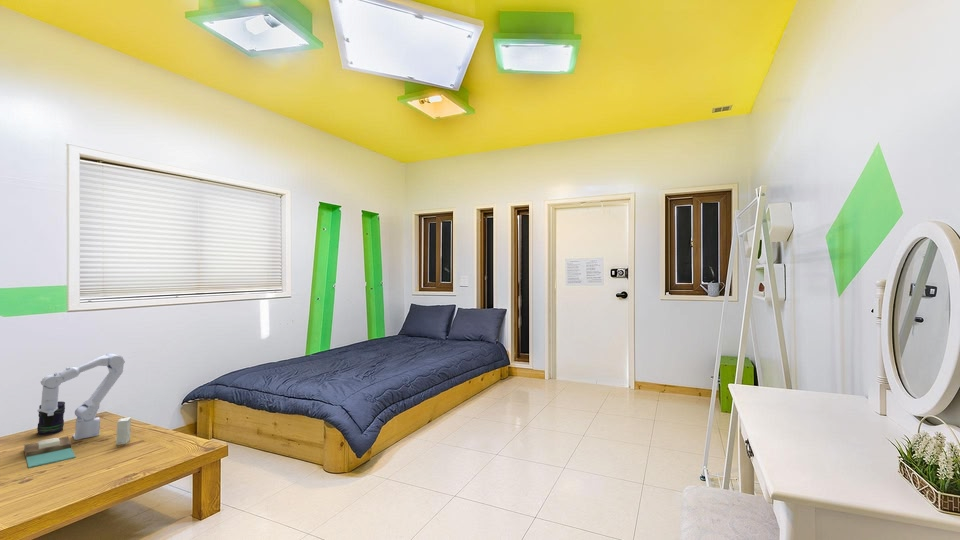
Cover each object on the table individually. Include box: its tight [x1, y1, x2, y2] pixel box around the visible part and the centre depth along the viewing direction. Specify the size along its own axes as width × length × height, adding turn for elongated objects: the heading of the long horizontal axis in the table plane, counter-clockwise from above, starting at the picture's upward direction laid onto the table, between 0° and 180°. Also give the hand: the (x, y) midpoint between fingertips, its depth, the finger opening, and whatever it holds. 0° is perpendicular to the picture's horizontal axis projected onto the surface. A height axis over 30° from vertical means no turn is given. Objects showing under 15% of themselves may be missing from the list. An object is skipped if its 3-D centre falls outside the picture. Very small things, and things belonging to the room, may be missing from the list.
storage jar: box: [36, 401, 66, 436], centre depth 219 cm, size 10×10×15 cm
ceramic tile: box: [37, 437, 60, 449], centre depth 199 cm, size 7×6×2 cm
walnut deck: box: [23, 436, 72, 458], centre depth 200 cm, size 15×12×2 cm
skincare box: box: [115, 416, 132, 446], centre depth 212 cm, size 6×4×12 cm
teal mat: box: [25, 447, 76, 469], centre depth 191 cm, size 15×14×1 cm
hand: (47, 426), depth 204 cm, fingers closed
